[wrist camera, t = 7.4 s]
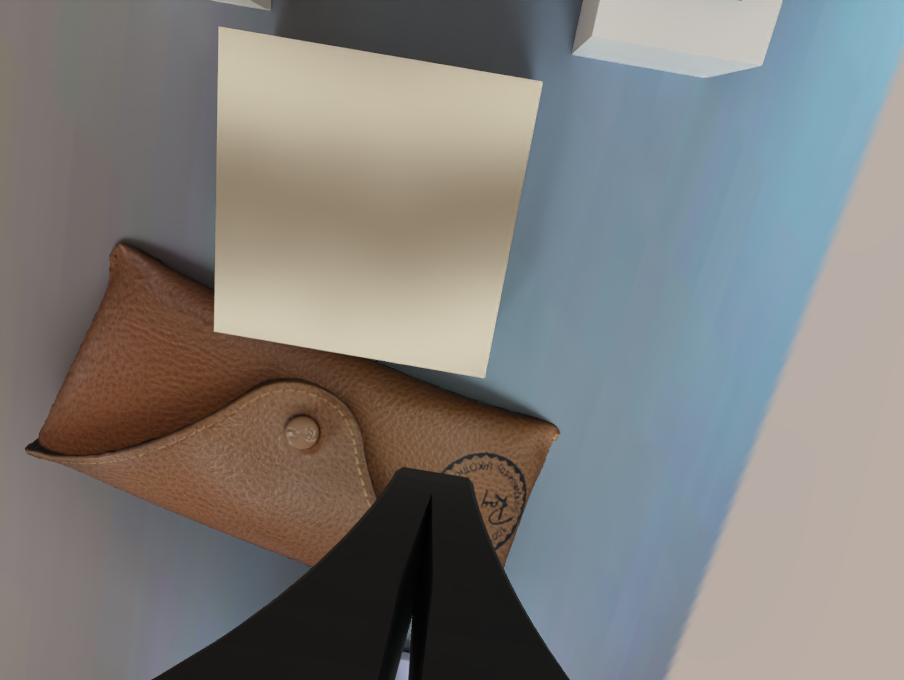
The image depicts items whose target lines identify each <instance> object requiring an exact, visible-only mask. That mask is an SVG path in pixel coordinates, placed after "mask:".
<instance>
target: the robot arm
mask: <svg viewBox="0 0 904 680" xmlns="http://www.w3.org/2000/svg"><path fill="white" fill-rule="evenodd" d="M412 614H413V615H412ZM411 618H412V630H411V644H410V653H406V652H403V648H404V644H405V641H406V637H407V633H408V629H409V626H410V622H411ZM152 680H570V679H569V678H568V677H567V675H566V674H565V672H564V671H563V669H562V668H561V666H560V665H559V663H558V662H557V661H556V659H555V658H554V656H553V655H552V653H551V652H550V650H549V649H548V647H547V646H546V644H545V643H544V641H543V639H542V638H541V636H540V635H539V633H538V631H537V630H536V628H535V627H534V625H533V623H532V622H531V620H530V618H529V616H528V615H527V613H526V611H525V609H524V608H523V606H522V604H521V602H520V600H519V599H518V597H517V595H516V593H515V591H514V589H513V587H512V585H511V583H510V581H509V579H508V577H507V575H506V573H505V571H504V569H503V567H502V565H501V562H500V560H499V558H498V555H497V553H496V551H495V548H494V546H493V544H492V541H491V539H490V537H489V534H488V532H487V529H486V526H485V524H484V521H483V518H482V515H481V512H480V509H479V506H478V502H477V499H476V495H475V491H474V485H473V483H472V482H471V480H470V479H469V478H468V477H462V476H456V475H450V474H444V473H438V472H432V471H425V470H419V469H413V468H407V467H402V468H400V469H398V470H397V471H396V472H395V473H394V475H393V477H392V479H391V480H390V482H389V483H388V485H387V486H386V487H385V489H384V490H383V492H382V493H381V494H380V496H379V497H378V498H377V499H376V501H375V502H374V503H373V504H372V506H371V507H370V508H369V509H368V510H367V511H366V513H365V514H364V515H363V516H362V517H361V518H360V519H359V521H358V522H357V523H356V524H355V525H354V526H353V527H352V529H351V530H350V531H349V532H348V533H347V534H346V535H345V536H344V537H343V538H342V539H341V540H340V541H339V542H338V543H337V544H336V545H335V546H334V547H333V548H332V549H331V550H330V551H329V552H328V553H327V554H326V555H325V556H324V557H323V558H322V559H321V560H320V561H319V562H318V563H317V564H316V565H314V566H313V567H312V568H311V569H310V570H309V571H308V572H307V573H306V574H304V575H303V576H302V577H301V578H300V579H299V580H297V581H296V582H295V583H294V584H293V585H291V586H290V587H289V588H288V589H287V590H285V591H284V592H283V593H282V594H280V595H279V596H278V597H277V598H275V599H274V600H273V601H272V602H270V603H269V604H268V605H266V606H265V607H263V608H262V609H261V610H259V611H258V612H257V613H255V614H254V615H253V616H251V617H250V618H248V619H247V620H246V621H244V622H243V623H242V624H240V625H239V626H237V627H236V628H234V629H233V630H232V631H230V632H229V633H227V634H226V635H224V636H223V637H221V638H220V639H218V640H217V641H215V642H213V643H212V644H210V645H209V646H207V647H205V648H204V649H202V650H200V651H199V652H197V653H195V654H194V655H192V656H190V657H189V658H187V659H185V660H184V661H182V662H180V663H179V664H177V665H176V666H174V667H172V668H171V669H169V670H167V671H166V672H164V673H162V674H161V675H159V676H157V677H155V678H154V679H152Z"/></svg>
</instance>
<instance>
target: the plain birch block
mask: <svg viewBox="0 0 904 680" xmlns="http://www.w3.org/2000/svg"><path fill="white" fill-rule="evenodd" d="M542 85H543V82H542V81H536V80H531V79H525V78H519V77H513V76H507V75H501V74H495V73H489V72H484V71H478V70H472V69H466V68H460V67H454V66H448V65H442V64H436V63H431V62H425V61H419V60H413V59H407V58H401V57H395V56H389V55H383V54H378V53H372V52H366V51H360V50H354V49H348V48H342V47H336V46H331V45H325V44H319V43H313V42H307V41H301V40H295V39H289V38H283V37H278V36H272V35H266V34H260V33H254V32H248V31H242V30H236V29H231V28H225V27H219V42H218V106H217V169H216V233H215V296H214V332H219V333H225V334H231V335H237V336H243V337H248V338H254V339H260V340H266V341H271V342H277V343H283V344H289V345H294V346H300V347H306V348H312V349H318V350H323V351H329V352H335V353H341V354H346V355H352V356H358V357H364V358H369V359H375V360H381V361H387V362H392V363H398V364H404V365H410V366H416V367H421V368H427V369H433V370H439V371H444V372H450V373H456V374H462V375H467V376H473V377H479V378H485V375H486V370H487V365H488V360H489V354H490V349H491V344H492V339H493V334H494V329H495V324H496V319H497V314H498V309H499V304H500V299H501V293H502V288H503V283H504V278H505V273H506V268H507V263H508V258H509V253H510V248H511V243H512V238H513V232H514V227H515V222H516V217H517V212H518V207H519V202H520V197H521V192H522V187H523V182H524V177H525V171H526V166H527V161H528V156H529V151H530V146H531V141H532V136H533V131H534V126H535V121H536V116H537V110H538V105H539V100H540V95H541V90H542Z"/></svg>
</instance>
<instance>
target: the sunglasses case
mask: <svg viewBox="0 0 904 680" xmlns="http://www.w3.org/2000/svg"><path fill="white" fill-rule="evenodd" d="M109 271H110V280H109V282H108V288H107V290H106V293H105V296H104V298H103V300H102V302H101V305H100V307H99V309H98V312H97V313H96V314H95V317H94V319H93V322H92V325H91V327H90V329H89V330H88V331H87V334H86V337H85V339H84V341H83V343H82V345H81V346H80V350H79V352H78V354H77V355H76V358H75V361H74V362H73V364H72V365H71V367H70V371H69V373H68V374H67V376H66V379H65V381H64V383H63V386H62V387H61V389H60V391H59V393H58V395H57V397H56V400H55V402H54V404H53V405H52V407H51V410H50V413H49V415H48V418H47V419H46V421H45V424H44V425H43V427H42V429H41V430H40V432H39V438H38V439H36V440H35V441H34V442H33V443H30V444H29V445H28V446H27V447H26V448H25V451H26V452H27V454H29V455H32V456H34V457H37V458H39V459H44V460H48V461H52V462H56V463H59V464H62V465H64V466H67V467H70V468H73V469H75V470H77V471H79V472H82V473H85V474H87V475H89V476H91V477H93V478H95V479H98V480H101V481H102V482H104V483H107V484H109V485H111V486H113V487H115V488H118V489H121V490H123V491H125V492H127V493H130V494H132V495H134V496H136V497H139V498H141V499H144V500H146V501H148V502H150V503H153V504H155V505H158V506H160V507H163V508H165V509H167V510H170V511H172V512H174V513H177V514H180V515H182V516H184V517H187V518H189V519H192V520H194V521H196V522H199V523H201V524H204V525H207V526H209V527H211V528H214V529H216V530H219V531H221V532H224V533H226V534H229V535H232V536H234V537H237V538H239V539H241V540H244V541H247V542H250V543H252V544H254V545H257V546H260V547H262V548H265V549H268V550H270V551H273V552H275V553H278V554H281V555H283V556H285V557H288V558H290V559H294V560H297V561H299V562H302V563H304V564H306V565H308V566H312V567H313V566H314V565H316V564H317V563H318V562H319V561H320V560H321V559H322V558H323V557H324V556H325V555H326V554H327V553H328V552H329V551H330V550H331V549H332V548H333V547H334V546H335V545H336V544H337V543H338V542H339V541H340V540H341V539H342V538H343V537H344V536H345V535H346V534H347V533H348V532H349V531H350V530H351V529H352V527H353V526H354V525H355V524H356V523H357V522H358V521H359V519H360V518H361V517H362V516H363V515H364V514H365V513H366V511H367V510H368V509H369V508H370V507H371V506H372V504H373V503H374V502H375V501H376V499H377V498H378V497H379V496H380V494H381V493H382V492H383V490H384V489H385V487H386V486H387V485H388V483H389V482H390V480H391V479H392V477H393V475H394V473H395V472H396V471H397V470H398V469H400V468H402V467H407V468H413V469H419V470H425V471H432V472H438V473H444V474H450V475H456V476H462V477H468V478H469V479H470V480H471V482H472V483H473V485H474V491H475V495H476V499H477V502H478V506H479V509H480V512H481V515H482V518H483V521H484V524H485V526H486V529H487V532H488V534H489V537H490V539H491V541H492V544H493V546H494V548H495V551H496V553H497V555H498V558H499V560H500V562H501V565H502V567H503V568H504V566H505V563H506V559H507V556H508V554H509V551H510V548H511V546H512V542H513V540H514V537H515V534H516V531H517V528H518V526H519V524H520V520H521V518H522V515H523V512H524V509H525V506H526V504H527V501H528V498H529V496H530V493H531V491H532V489H533V487H534V485H535V482H536V480H537V478H538V476H539V474H540V472H541V469H542V468H543V464H544V462H545V460H546V456H547V454H548V452H549V448H550V446H551V444H552V441H553V440H555V441H556V440H557V438H558V435H559V434H560V431H559V429H558V427H556V426H555V425H554V424H551V423H549V422H546V421H544V420H541V419H538V418H535V417H532V416H529V415H525V414H521V413H517V412H512V411H509V410H506V409H503V408H499V407H495V406H491V405H488V404H485V403H481V402H478V401H476V400H473V399H470V398H466V397H464V396H461V395H458V394H456V393H454V392H451V391H448V390H444V389H442V388H440V387H438V386H435V385H432V384H430V383H426V382H423V381H421V380H419V379H416V378H413V377H411V376H409V375H407V374H404V373H402V372H399V371H397V370H395V369H393V368H390V367H388V366H386V365H383V364H380V363H378V362H375V361H372V360H370V359H369V358H364V357H358V356H352V355H346V354H341V353H335V352H329V351H323V350H318V349H312V348H306V347H300V346H294V345H289V344H283V343H277V342H271V341H266V340H260V339H254V338H248V337H243V336H237V335H231V334H225V333H219V332H214V296H215V291H213V290H211V289H210V288H208V287H206V286H204V285H202V284H201V283H198V282H196V281H194V280H192V279H190V278H188V277H186V276H185V275H183V274H180V273H178V272H176V271H174V270H173V269H171V268H169V267H167V266H166V265H165V264H163V263H162V261H160V260H159V259H157V258H155V257H153V256H151V255H149V254H147V253H145V252H143V251H141V250H139V249H137V248H134V247H132V246H130V245H127V244H124V243H119V244H117V245H116V247H115V248H114V249H113V251H112V252H111V254H110V268H109Z"/></svg>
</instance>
